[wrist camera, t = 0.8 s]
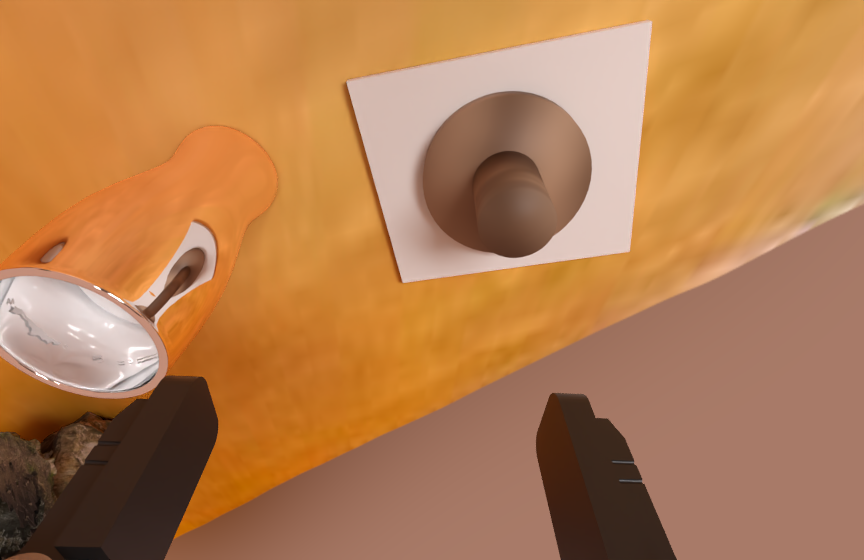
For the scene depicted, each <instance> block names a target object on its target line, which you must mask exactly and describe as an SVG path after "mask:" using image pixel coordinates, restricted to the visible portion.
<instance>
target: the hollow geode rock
mask: <svg viewBox="0 0 864 560" xmlns="http://www.w3.org/2000/svg"><path fill="white" fill-rule="evenodd" d="M110 423H111V421H109V420H103V419H102V418H101V417H99V416H98V415H96V414H93V413H91V412H87V413H85V414H84V415H83V416H82V417H81V418H80V419H78V420H77V421H75V422H74V423H72V424H70V425H68V426H64V427H62V428H61V429H60V430H59V431H57V432H55V433H53V434H51V435H49V436H48V437H47V438H45V440H44V441H43V442H42V443H41V444H40V442H39V441H38V440H37V439H33V440H30V441H28V440H25V439H22V438H20V436H19V435H18V434H17V433H15V432H0V560H5V559H8V558H10V557H13V556H15V555H17V553H18V552H19V551H20V550H21V549H22V548H23V547H24V546H25V544H26V543H27V542H28V541H29V539H30V538H31V537H32V535H33V534H34V532H35V531H36V529H37V528H38V526H39V525H40V524H41V522H42V521H43V519H44V518H45V516H46V515H47V513H48V512H49V511H50V509H51V508H52V506H53V505H54V503H55V502H56V501H57V499H58V498H59V496H60V495H61V493H62V492H63V490H64V489H65V488H66V486H67V485H68V483H69V482H70V480H71V479H72V478H73V476H74V475H75V473H76V472H77V470H78V469H79V467H80V466H81V465H84V463H85V459H86V457H87V456H88V454H89V453H90V452H91V450H92V449H93V447H94V446H97V444H98V440H99V439H100V437H101V436H102V434H103V433H104V431H105V430H106V429H107V427H108V426H109V424H110Z"/></svg>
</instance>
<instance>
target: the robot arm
mask: <svg viewBox="0 0 864 560" xmlns="http://www.w3.org/2000/svg"><path fill="white" fill-rule="evenodd" d="M217 434H218V418H217V415H216V411H215V408H214V405H213V402H212V398H211V395H210V392H209V389H208V385H207V382H206V380H205V379H204V378H203V377H192V376H165V377H164V378H163V379H162V380H161V381H160V382H159V384H158V385H157V387H156V388H155V390H154V391H153V393H152V394H151V396H150V398H149V399H136V400H135V401H134V402H133V403H132V404H130V405H129V406H128V407H127V408H125V409H124V410H123V411H122V412H121V413H119V414H118V415H117V416H116V417H114V418H113V420H112V421H111V423H110V424H109V426H108V427H107V429H106V430H105V431H104V433H103V434H102V436H101V437H100V439H99V440H98V444H97V446H94V447H93V449H92V450H91V452H90V453H89V454H88V456H87V457H86V459H85V463H84V465H81V466H80V467H79V469H78V470H77V472H76V473H75V475H74V476H73V478H72V479H71V480H70V482H69V483H68V485H67V486H66V488H65V489H64V490H63V492H62V493H61V495H60V496H59V498H58V499H57V501H56V502H55V503H54V505H53V506H52V508H51V509H50V511H49V512H48V513H47V515H46V516H45V518H44V519H43V521H42V522H41V524H40V525H39V526H38V528H37V529H36V531H35V532H34V534H33V535H32V537H31V538H30V539H29V541H28V542H27V543H26V544H25V546H24V547H23V548H22V549H21V550H20V551H19V552H18V553H17V555H15V556H13V557H10V558H8V559H5V560H164V558H165V556H166V554H167V552H168V549H169V547H170V545H171V543H172V540H173V538H174V536H175V533H176V531H177V529H178V527H179V524H180V522H181V520H182V518H183V515H184V513H185V511H186V509H187V506H188V504H189V502H190V500H191V497H192V495H193V493H194V491H195V488H196V486H197V484H198V481H199V479H200V477H201V475H202V472H203V470H204V468H205V466H206V463H207V461H208V459H209V457H210V454H211V452H212V450H213V448H214V445H215V442H216V438H217ZM536 451H537V458H538V463H539V467H540V472H541V476H542V480H543V485H544V489H545V493H546V497H547V502H548V506H549V510H550V514H551V519H552V523H553V527H554V532H555V536H556V540H557V545H558V549H559V554H560V558H561V560H677V559H676V557H675V555H674V553H673V550H672V548H671V545H670V543H669V541H668V538H667V536H666V534H665V531H664V529H663V527H662V524H661V522H660V520H659V518H658V515H657V513H656V510H655V508H654V506H653V503H652V501H651V499H650V496H649V494H648V492H647V489H646V487H645V485H644V484H643V483H642V478H641V475H640V473H639V471H638V468H637V466H636V465H634V459H633V457H632V454H631V452H630V450H629V447H628V445H627V443H626V440H625V438H624V437H623V436H622V435H621V434H620V432H619V431H618V430H617V429H616V428H615V427H614V425H613V424H612V423H611V422H610V421H609V420H608V419H602V418H595V415H594V413H593V410H592V408H591V405H590V402H589V400H588V398H587V397H586V396H585V395H584V394H564V393H562V394H561V393H552V394H551V395H550V397H549V399H548V402H547V405H546V408H545V411H544V414H543V417H542V420H541V423H540V426H539V428H538V432H537V437H536Z"/></svg>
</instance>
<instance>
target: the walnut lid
mask: <svg viewBox="0 0 864 560" xmlns="http://www.w3.org/2000/svg"><path fill="white" fill-rule="evenodd" d="M591 174H592V159H591V154H590V149H589V146H588V143H587V140H586V138H585V136H584V134H583V132H582V131H581V129H580V128H579V126H578V125H577V124H576V122H575V121H574V120H573V118H572V117H571V116H570V115H569V114H568V113H567V112H566V111H565V110H564V109H563V108H562V107H560V106H559V105H557V104H556V103H555V102H553V101H551V100H549V99H547V98H545V97H543V96H540V95H536V94H533V93H528V92H522V91H504V92H496V93H492V94H488V95H485V96H482V97H480V98H477V99H475V100H473V101H471V102H469V103H467V104H465V105H464V106H462V107H461V108H459V109H458V110H457V111H455V112H454V113H453V114H452V115H451V116H450V117H449V118H448V119H447V120H446V121H445V122H444V123H443V124H442V125H441V127H440V128H439V129H438V131H437V132H436V134H435V136H434V137H433V139H432V141H431V143H430V145H429V148H428V150H427V154H426V157H425V162H424V169H423V192H424V198H425V201H426V205H427V207H428V210H429V212H430V214H431V216H432V217H433V219H434V221H435V222H436V223H437V225H438V226H439V227H440V228H441V229H442V230H443V231H444V232H445V233H446V234H447V235H448V236H449V237H451V238H452V239H454V240H455V241H457V242H458V243H460V244H462V245H464V246H466V247H469V248H472V249H475V250H479V251H483V252H490V253H495V254H497V255H499V256H502V257H507V258H520V257H525V256H528V255H531V254H533V253H535V252H537V251H539V250H540V249H542V248H543V247H544V246H545V245H546V244H547V243H548V242H549V241H550V240H551V238H552V237H553V236H554V235H556V234H557V233H558V232H560V231H561V230H562V229H563V228H564V227H565V226H566V225H567V224H568V223H569V222H570V221H571V220H572V219H573V218H574V216H575V215H576V213H577V212H578V211H579V209H580V207H581V206H582V204H583V202H584V200H585V197H586V195H587V192H588V190H589V185H590V181H591Z"/></svg>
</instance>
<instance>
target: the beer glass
mask: <svg viewBox="0 0 864 560" xmlns="http://www.w3.org/2000/svg"><path fill="white" fill-rule="evenodd" d="M277 188H278V178H277V173H276V170H275V167H274V164H273V162H272V160H271V159H270V157H269V156H268V154H267V153H266V152H265V150H264V149H263V148H262V147H261V146H260V145H259V144H258V143H257V142H256V141H254V140H253V139H252V138H250V137H249V136H247V135H246V134H244V133H242V132H240V131H238V130H235V129H232V128H228V127H224V126H207V127H202V128H199V129H197V130H195V131H193V132H191V133H190V134H189V135H188V136H186V137H185V138H184V140H183V141H182V142H181V144H180V145H179V147H178V148H177V150H176V152H175V153H174V155H173V156H172V157H171V158H170V159H169V160H168V161H167V162H165V163H164V164H162V165H160V166H157V167H155V168H153V169H150V170H148V171H145V172H142V173H140V174H137V175H134V176H132V177H129V178H127V179H124V180H122V181H119V182H117V183H114V184H112V185H110V186H108V187H106V188H104V189H102V190H100V191H97V192H95V193H93V194H91V195H89V196H87V197H86V198H84V199H83V200H81V201H79V202H78V203H76V204H75V205H73V206H72V207H70V208H68V209H67V210H65V211H64V212H62V213H61V214H59V215H58V216H57V217H56V218H54V219H53V220H52V221H50V222H49V223H48V224H46V225H45V226H44V227H42V228H41V229H40V230H39V231H37V232H36V233H35V234H34V235H33V236H31V237H30V238H29V239H28V240H27V241H26V242H25V243H23V244H22V245H21V246H20V247H19V248H18V249H16V250H15V251H14V252H13V253H12V254H11V255H10V256H9V257H8V258H7V259H5V260H4V261H3V262H2V263H1V264H0V356H1V357H2V358H4V359H5V360H6V361H7V362H9V363H10V364H12V365H13V366H15V367H16V368H18V369H19V370H21V371H22V372H24V373H26V374H28V375H29V376H31V377H33V378H35V379H37V380H39V381H41V382H44V383H46V384H48V385H51V386H53V387H56V388H59V389H62V390H65V391H68V392H71V393H75V394H79V395H84V396H89V397H96V398H108V399H119V398H129V397H134V396H138V395H141V394H144V393H146V392H149V391H150V390H152V389H154V388H155V387H156V386H157V385H158V384H159V382H160V381H161V380H162V379H163V378H164V377H165V375H166V373H167V372H168V371H169V369H170V368H171V367H172V365H173V364H174V363H175V362H176V360H177V359H178V358H179V357H180V355H181V354H182V353H183V352H184V350H185V349H186V348H187V347H188V345H189V344H190V343H191V341H192V340H193V339H194V338H195V336H196V335H197V334H198V332H199V331H200V329H201V328H202V327H203V325H204V324H205V322H206V321H207V319H208V318H209V316H210V315H211V313H212V312H213V310H214V308H215V307H216V305H217V303H218V301H219V299H220V298H221V296H222V294H223V292H224V290H225V288H226V286H227V283H228V281H229V278H230V276H231V274H232V271H233V268H234V265H235V262H236V259H237V256H238V253H239V250H240V246H241V243H242V240H243V237H244V234H245V231H246V229H247V227H248V225H249V224H250V223H251V222H252V221H253V220H254V219H255V218H257V217H258V216H259V215H261V214H262V213H263V212H264V211H266V210H267V209H268V208H269V206H270V205H271V204H272V202H273V201H274V199H275V196H276V193H277Z"/></svg>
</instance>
